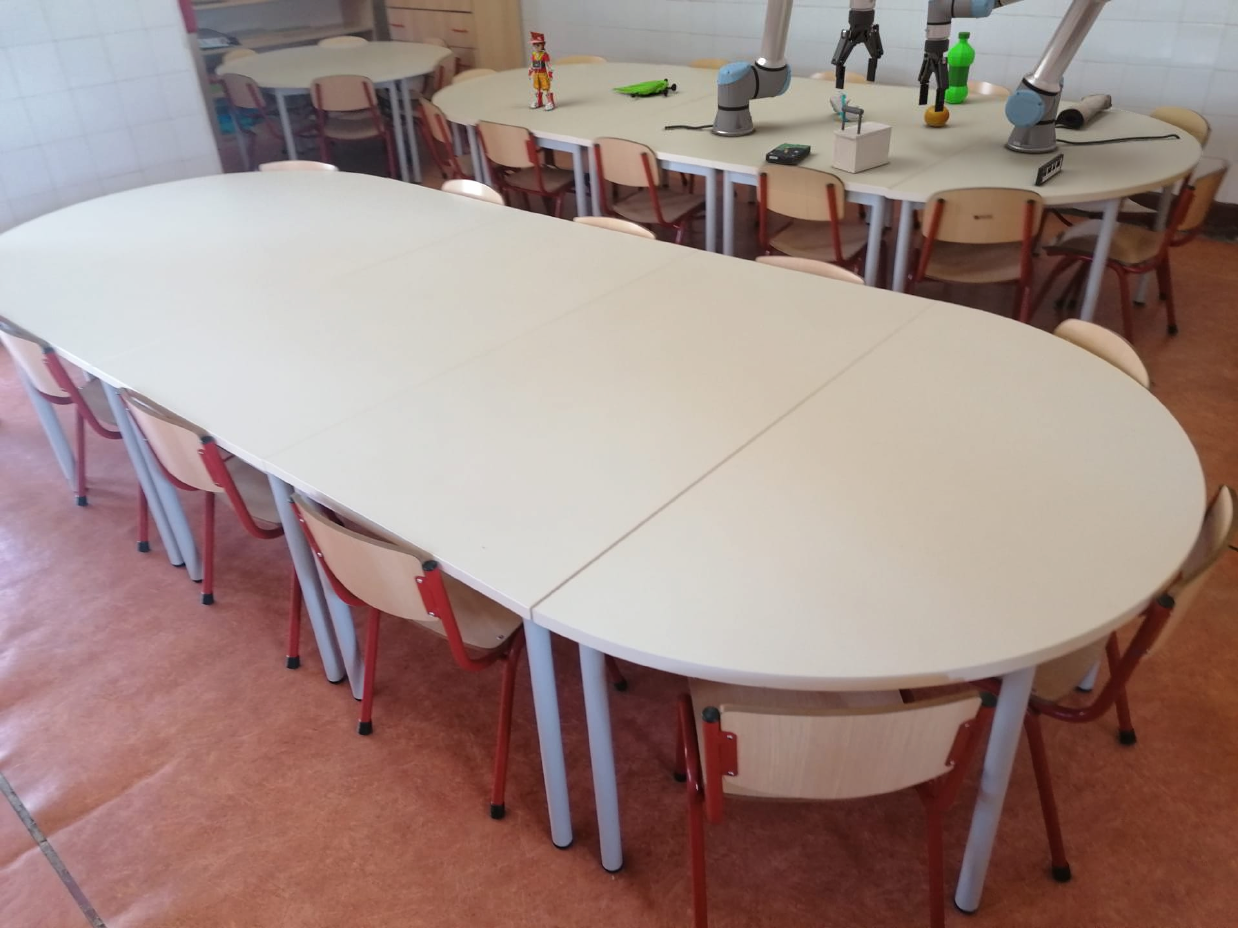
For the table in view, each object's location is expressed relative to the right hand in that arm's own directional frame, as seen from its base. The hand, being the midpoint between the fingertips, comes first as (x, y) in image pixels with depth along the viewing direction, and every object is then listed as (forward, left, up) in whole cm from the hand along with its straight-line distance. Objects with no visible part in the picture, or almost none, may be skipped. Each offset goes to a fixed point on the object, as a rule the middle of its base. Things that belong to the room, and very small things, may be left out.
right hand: (930, 108), depth 300 cm
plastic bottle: (-37, -53, -13) cm, 66 cm away
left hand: (+33, +14, +13) cm, 39 cm away
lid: (+29, +12, -2) cm, 31 cm away
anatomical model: (+11, -47, -13) cm, 50 cm away
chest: (+28, +12, -13) cm, 33 cm away
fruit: (-15, -24, -13) cm, 31 cm away
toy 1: (+122, -108, -13) cm, 164 cm away
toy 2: (+77, -120, -13) cm, 143 cm away
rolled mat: (-66, -13, -13) cm, 69 cm away
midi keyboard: (-20, +43, -13) cm, 49 cm away
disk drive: (+48, -3, -13) cm, 50 cm away
